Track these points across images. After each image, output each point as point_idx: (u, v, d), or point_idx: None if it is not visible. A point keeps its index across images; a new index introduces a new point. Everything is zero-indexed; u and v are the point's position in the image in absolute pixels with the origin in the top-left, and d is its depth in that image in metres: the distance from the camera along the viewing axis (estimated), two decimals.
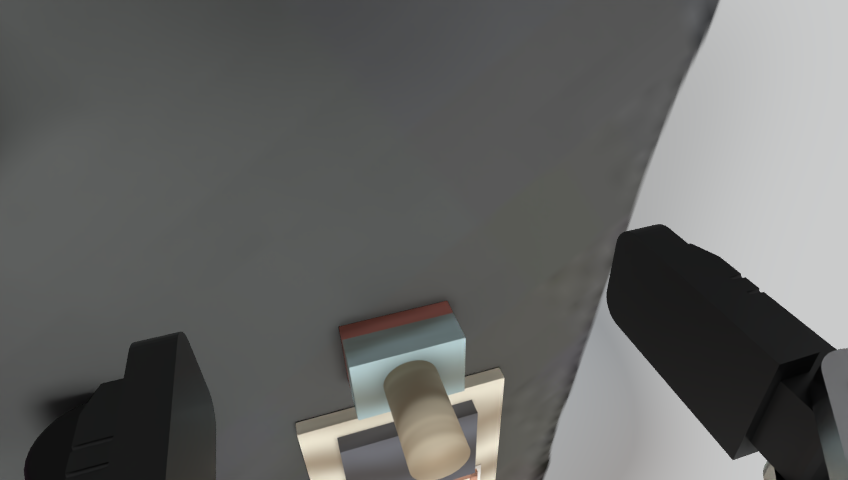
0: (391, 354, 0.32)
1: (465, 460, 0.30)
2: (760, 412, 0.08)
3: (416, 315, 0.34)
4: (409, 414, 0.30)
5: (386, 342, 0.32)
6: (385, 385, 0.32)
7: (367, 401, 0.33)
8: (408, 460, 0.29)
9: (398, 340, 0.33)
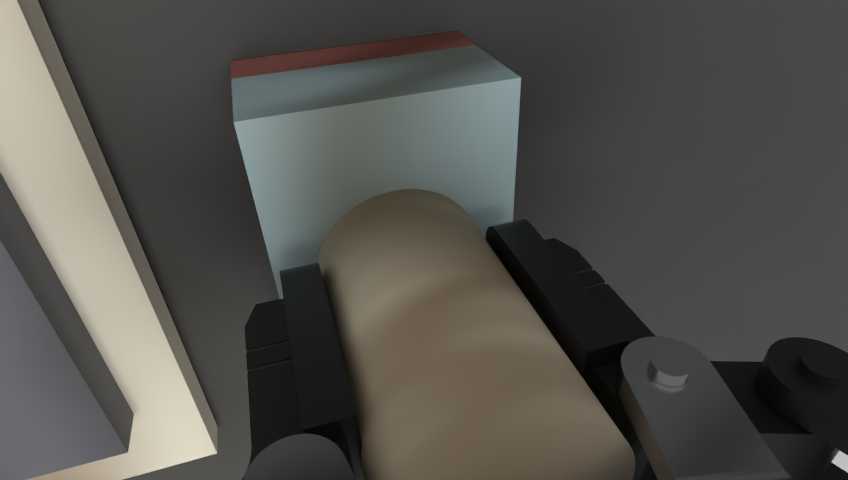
0: (509, 193, 0.11)
1: None
2: None
3: None
4: (538, 316, 0.09)
5: None
6: (425, 198, 0.10)
7: (338, 147, 0.10)
8: (546, 405, 0.06)
9: None
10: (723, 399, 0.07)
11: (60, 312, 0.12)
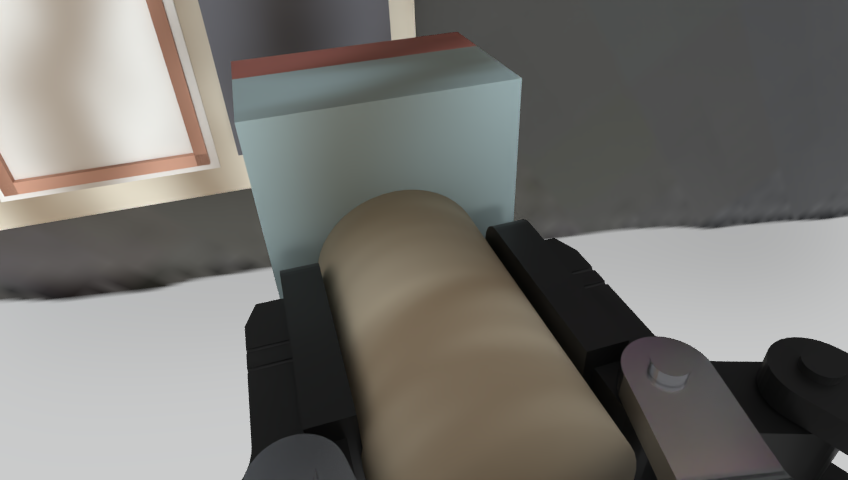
0: (510, 194, 0.11)
1: None
2: None
3: None
4: (539, 316, 0.09)
5: None
6: (426, 198, 0.10)
7: (339, 147, 0.10)
8: (547, 406, 0.06)
9: None
10: (723, 399, 0.07)
11: None
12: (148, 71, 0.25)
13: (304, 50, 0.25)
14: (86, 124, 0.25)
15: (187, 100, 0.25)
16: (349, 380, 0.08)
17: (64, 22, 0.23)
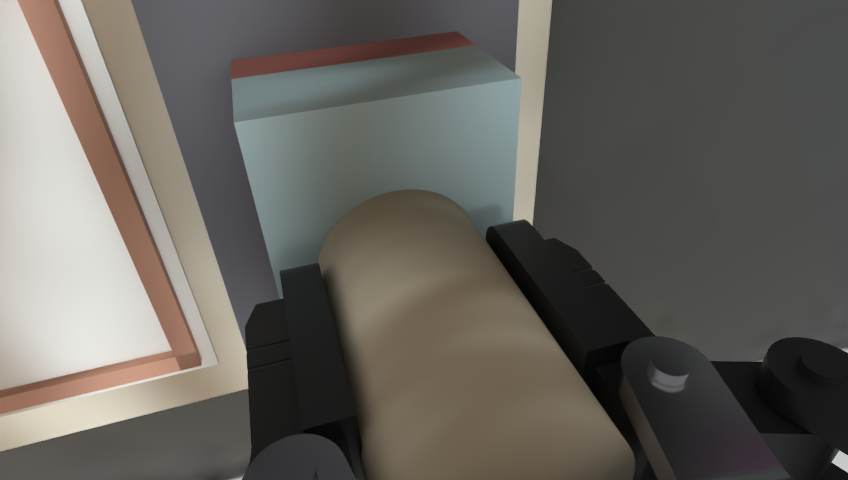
0: (510, 194, 0.11)
1: None
2: None
3: None
4: (538, 316, 0.09)
5: None
6: (425, 198, 0.10)
7: (338, 147, 0.10)
8: (546, 407, 0.06)
9: None
10: (723, 399, 0.07)
11: None
12: (89, 241, 0.14)
13: None
14: None
15: (161, 282, 0.15)
16: (348, 380, 0.08)
17: None
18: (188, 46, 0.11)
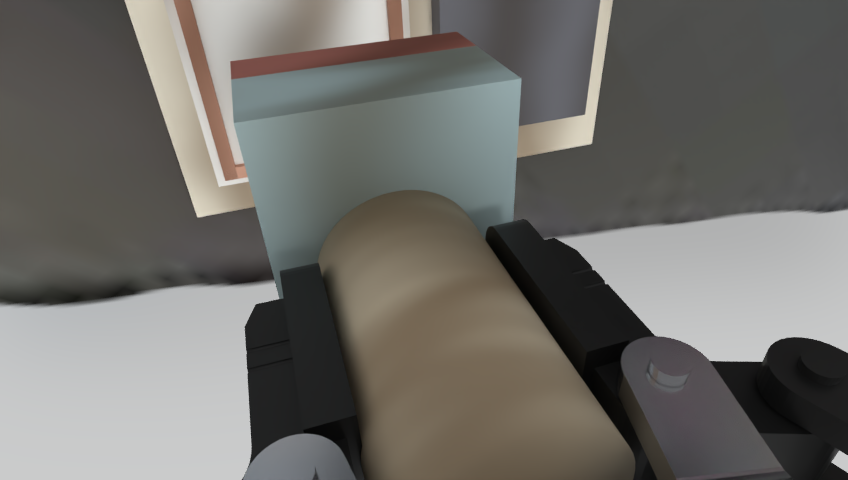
0: (510, 194, 0.11)
1: None
2: None
3: None
4: (538, 317, 0.09)
5: None
6: (425, 199, 0.10)
7: (338, 148, 0.10)
8: (546, 408, 0.06)
9: None
10: (723, 399, 0.07)
11: None
12: None
13: (520, 36, 0.26)
14: None
15: None
16: (348, 381, 0.08)
17: (308, 9, 0.24)
18: None
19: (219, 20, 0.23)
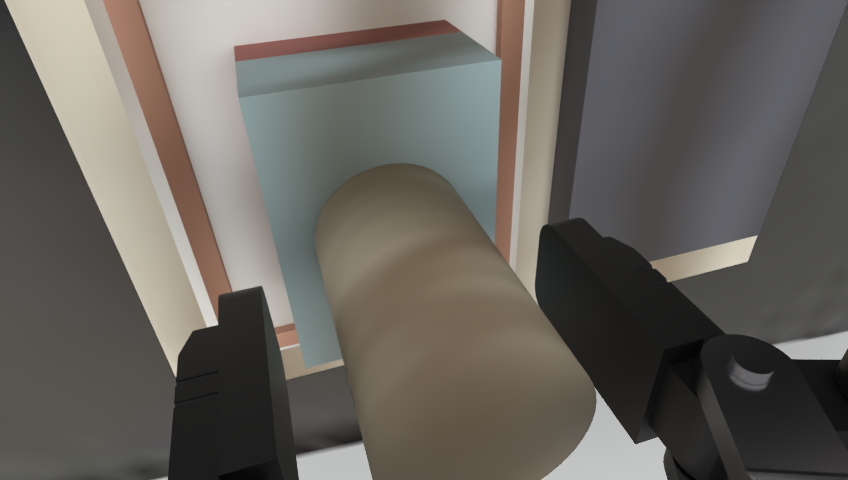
0: (493, 170, 0.12)
1: None
2: (654, 397, 0.08)
3: None
4: (513, 272, 0.09)
5: None
6: (414, 170, 0.11)
7: (333, 122, 0.10)
8: (514, 338, 0.07)
9: None
10: (811, 397, 0.07)
11: None
12: None
13: (695, 137, 0.16)
14: None
15: (507, 211, 0.17)
16: (342, 329, 0.09)
17: None
18: None
19: (222, 134, 0.13)
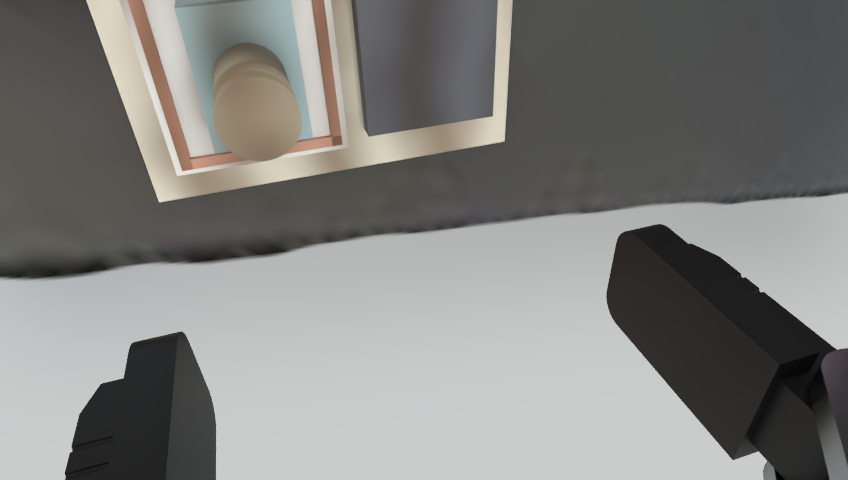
0: (298, 51, 0.27)
1: (250, 157, 0.23)
2: (760, 412, 0.08)
3: None
4: (283, 76, 0.24)
5: None
6: (254, 45, 0.25)
7: (216, 21, 0.25)
8: (261, 78, 0.22)
9: None
10: None
11: None
12: (304, 67, 0.30)
13: (430, 50, 0.31)
14: None
15: (332, 91, 0.31)
16: None
17: None
18: None
19: (173, 37, 0.28)
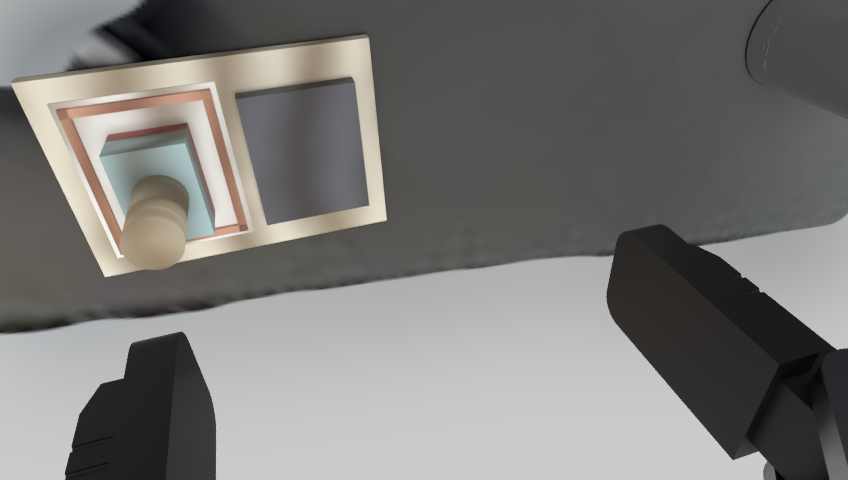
0: (196, 177, 0.36)
1: (149, 267, 0.32)
2: (760, 412, 0.08)
3: (206, 189, 0.39)
4: (176, 206, 0.33)
5: (197, 169, 0.37)
6: (161, 177, 0.35)
7: (131, 163, 0.34)
8: (152, 217, 0.31)
9: (200, 179, 0.37)
10: None
11: None
12: (212, 177, 0.40)
13: (309, 162, 0.40)
14: None
15: (235, 193, 0.41)
16: None
17: None
18: (251, 114, 0.37)
19: None
